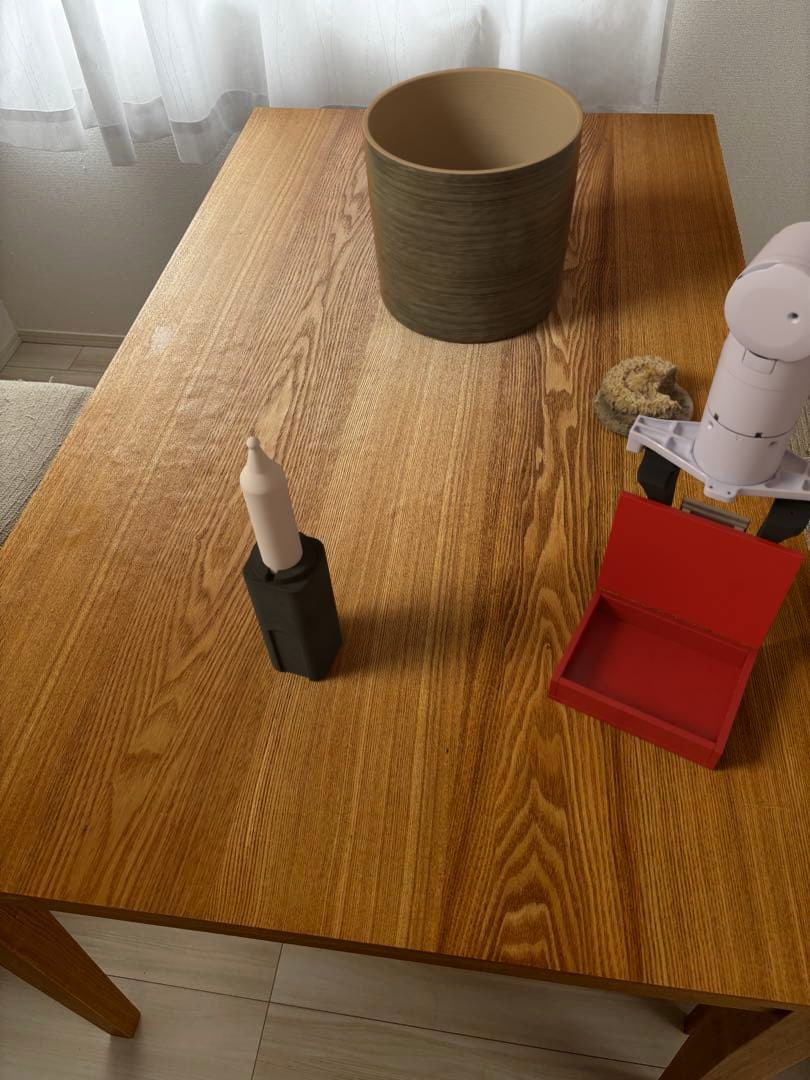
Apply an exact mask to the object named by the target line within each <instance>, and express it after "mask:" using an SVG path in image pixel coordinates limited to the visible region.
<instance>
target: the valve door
mask: <svg viewBox="0 0 810 1080" xmlns="http://www.w3.org/2000/svg"><path fill="white" fill-rule="evenodd" d="M612 519H613V520H612V524H611V528H610V531H609V535H608V540H607V543H606V547H605V551H604V555H603V559H602V563H601V567H600V570H599V575H598V579H597V583H596V588H597V587H598V588H601V589H603V590H606V591H608V592H611V593H613V594H616V595H618V596H621V597H624V598H626V599H629V600H631V601H634V602H636V603H639V604H642V605H644V606H647V607H649V608H652V609H654V610H657V611H660V612H662V613H665V614H667V615H670V616H672V617H675V618H677V619H680V620H683V621H685V622H688V623H690V624H693V625H695V626H698V627H701V628H703V629H706V630H708V631H711V632H713V633H716V634H719V635H721V636H724V637H726V638H729V639H731V640H734V641H736V642H739V643H742V644H744V645H747V646H749V647H750V648H751V647H752V648H755V649H757V650H760V649H761V647H762V645H763V643H764V642H765V639H766V637H767V635H768V633H769V632H770V629H771V627H772V625H773V623H774V621H775V619H776V618H777V617H776V616H777V615H778V612H779V611H780V608H781V606H782V604H783V602H784V600H785V598H786V597H787V595H788V592H789V590H790V588H791V586H792V584H793V582H794V580H795V578H796V577H797V574H798V572H799V571H800V568H801V566H802V563H803V562H804V560H805V558H806V553H805V552H802V551H800V550H797V549H795V548H792V547H790V546H789V547H788V546H786V545H783V544H780V543H778V544H777V543H774V542H771V541H768V540H766V539H763V538H760V537H757V536H756V535H754V534H752V533H748V532H747V530H748V528H749V525H750V523H751V521H752V520H751V518H750V517H748V516H744V515H741V514H739V513H736V512H732V511H730V510H727V509H723V508H721V507H718V506H715V505H712V504H709V503H707V502H704V501H703V502H702V501H700V500H697V499H695V498H692V497H688V496H684V497H683V499H682V500H681V504H680V506H679V508H676V507H673V506H672V507H670V506H668V505H665V504H662V503H659V502H656V501H653V500H650V499H648V498H647V497H644V496H641V495H639V494H636V493H633V492H630V491H627V490H624V489H622V490H621V491H620V493H619V497H618V500H617V504H616V509H615V511H614V516H613V518H612Z"/></svg>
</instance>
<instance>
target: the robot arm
mask: <svg viewBox="0 0 810 1080" xmlns="http://www.w3.org/2000/svg"><path fill="white" fill-rule="evenodd" d="M723 310H724V318H725V322H726V325H727V327H728V329H729V332H728V335H727V337H726V339H725V341H724V342H723V346H722V349H721V352H720V356H719V359H718V362H717V366H716V368H715V373H714V376H713V379H712V382H711V385H710V390H709V393H708V396H707V400H706V403H705V407H704V410H703V413H702V416H701V420H700V421H691V420H690V421H676V420H663V419H656V418H651V417H647V416H643V415H638V417H637V419H636V421H635V423H634V424H633V426H632V428H631V430H630V433H629V437H627V441H626V448H625V450H626V451H628V452H631V453H634V454H641V453H642V452H643V450H644V453H643V456H642V459H641V462H640V464H639V465H638V468H637V470H636V479H637V480H636V481H637V483H638V484H639V485H640V487H641V488H642V489H643V492H644V493H645V495H646V498H647V499H650V500H653V501H656V502H659V503H662V504H665V505H668V506H670V507H673V504H674V503H673V502H674V498H675V492H676V487H677V483H678V479H679V477H680V473H681V469H682V470H683V471H685V473H688V474H689V475H691V476H692V477H694V478H695V479H697V480H699V481H700V482H701V483H703V484H704V487H703V492H702V493H703V494H704V496H705V497H708V498H710V499H712V500H715V501H719V502H722V503H725V504H733V502H735V500H736V498H737V497H738V496H744V497H745V496H746V497H759V498H772V499H773V501H772V503H771V507H770V509H769V511H768V513H767V515H766V516H765V518H764V520H763V521H762V524H761V525H760V527H759V529H758V531H757V532H756V534H755V536H757V537H760V538H763V539H766V540H768V541H771V542H774V543H777V544H780V543H782V542H784V541H786V540H789V539H791V538H795V537H799V536H800V535H802V533H803V532H804V531H805V529H806V528H808V527H807V526H808V525H809V523H810V461H809V460H807V459H806V458H804V457H803V456H801V455H800V454H797V453H796V452H794V451H792V450H791V449H789V448H787V447H788V445H789V443H790V440H791V438H792V436H793V434H794V431H795V430H796V426H797V425H798V421H799V419H800V417H801V414H802V412H803V409H804V407H805V404H806V402H807V400H808V397H809V395H810V220H807V221H806V220H805V221H798V222H795V223H791V224H789V225H787V226H785V227H783V229H782V230H781V231H777V232H776V233H775V234H774V235H773V236H772V237H771V238H770V240H768V241H767V243H766V244H765V245H764V246H763V247H762V249H761V250H760V251H759V252H758V253H757V254H756V256H755V257H754V258H753V259H752V260H751V261H750V263H749V264H748V265H747V266H746V267H745V268H744V270H742V272H741V273H740V274H739V275H738V277H737V278H736V279H735V281H734V282H733V284H732V285H731V287H730V289H729V290H728V292H727V295H726V297H725V301H724V309H723Z"/></svg>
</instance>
